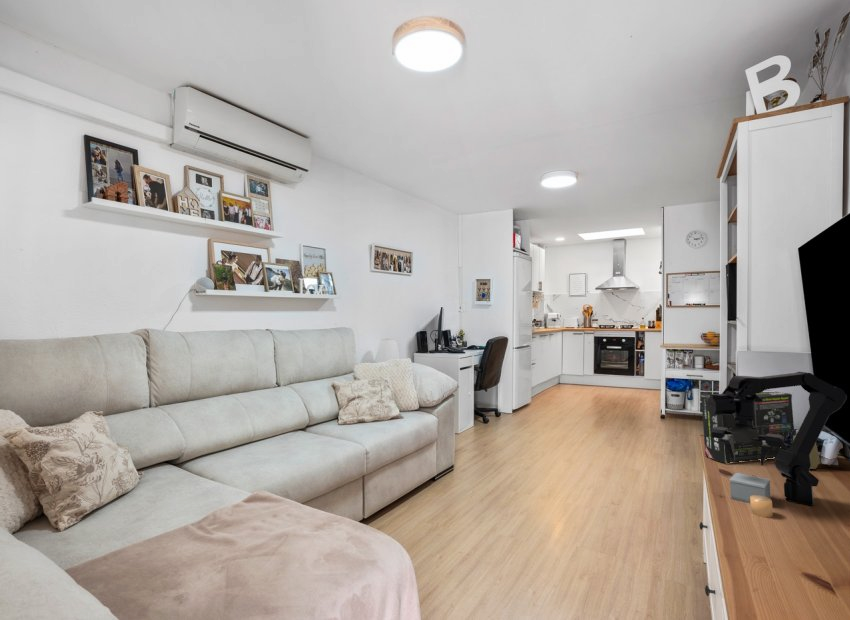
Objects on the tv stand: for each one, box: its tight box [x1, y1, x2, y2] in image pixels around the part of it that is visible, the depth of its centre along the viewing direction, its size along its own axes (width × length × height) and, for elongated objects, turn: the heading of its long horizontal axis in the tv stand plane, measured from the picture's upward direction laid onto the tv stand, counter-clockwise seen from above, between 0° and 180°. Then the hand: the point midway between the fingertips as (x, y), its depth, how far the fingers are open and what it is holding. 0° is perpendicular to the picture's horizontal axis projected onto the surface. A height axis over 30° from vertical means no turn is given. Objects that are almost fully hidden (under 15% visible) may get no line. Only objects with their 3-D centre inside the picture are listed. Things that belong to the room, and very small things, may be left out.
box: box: [729, 481, 772, 504], centre depth 139 cm, size 9×9×6 cm
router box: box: [700, 391, 795, 464], centre depth 180 cm, size 36×11×27 cm, turn 99°
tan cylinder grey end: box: [750, 495, 774, 519], centre depth 128 cm, size 5×5×5 cm
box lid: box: [729, 472, 771, 489], centre depth 139 cm, size 9×9×1 cm
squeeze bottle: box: [793, 420, 820, 470], centre depth 165 cm, size 8×8×18 cm
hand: (747, 462), depth 138 cm, fingers open, 7 cm apart
